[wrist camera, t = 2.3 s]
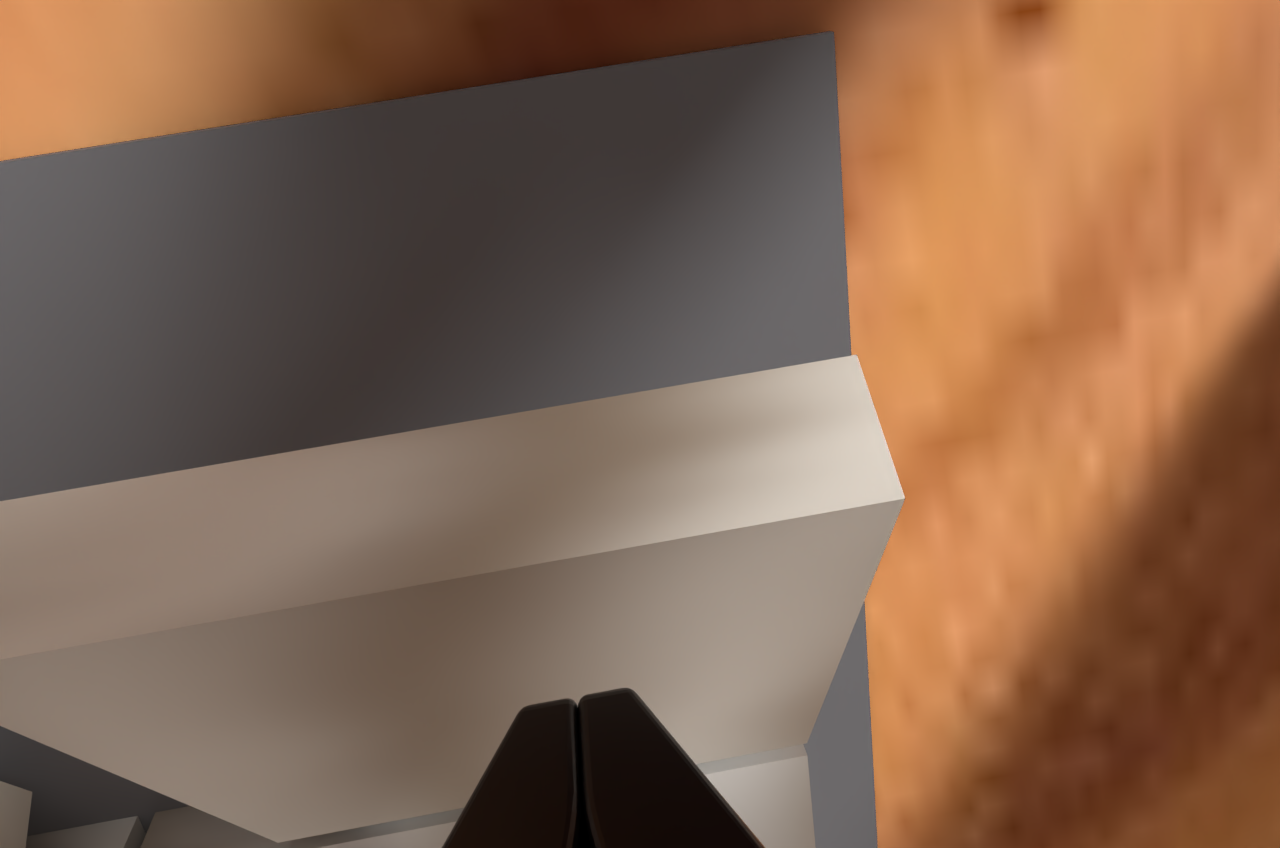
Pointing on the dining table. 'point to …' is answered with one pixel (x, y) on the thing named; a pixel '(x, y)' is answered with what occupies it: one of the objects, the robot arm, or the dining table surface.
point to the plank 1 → (14, 815)
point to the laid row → (204, 844)
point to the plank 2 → (449, 595)
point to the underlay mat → (423, 298)
